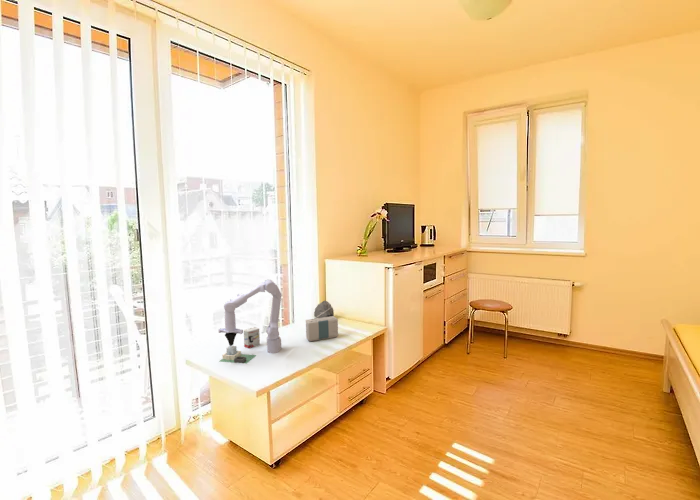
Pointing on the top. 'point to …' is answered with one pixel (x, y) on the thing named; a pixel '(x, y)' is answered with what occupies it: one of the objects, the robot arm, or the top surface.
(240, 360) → the block
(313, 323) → the stereo radio cassette player
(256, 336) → the ink box
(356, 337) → the top surface
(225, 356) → the frame
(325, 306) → the decorative rock
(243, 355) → the board
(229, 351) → the plug
